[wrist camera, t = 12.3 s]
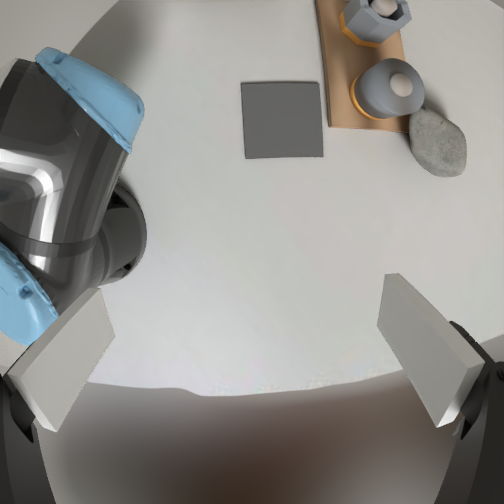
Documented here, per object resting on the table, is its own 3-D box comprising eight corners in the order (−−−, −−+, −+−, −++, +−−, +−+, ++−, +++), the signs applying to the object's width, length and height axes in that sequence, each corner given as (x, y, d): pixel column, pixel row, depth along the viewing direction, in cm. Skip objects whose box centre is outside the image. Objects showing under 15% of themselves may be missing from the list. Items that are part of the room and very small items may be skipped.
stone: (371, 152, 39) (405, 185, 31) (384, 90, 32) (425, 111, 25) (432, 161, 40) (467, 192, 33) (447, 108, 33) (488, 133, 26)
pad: (245, 159, 36) (245, 159, 35) (241, 85, 32) (241, 84, 32) (322, 156, 35) (323, 156, 35) (318, 84, 32) (319, 83, 32)
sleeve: (343, 43, 29) (363, 20, 21) (337, 5, 26) (354, -22, 19) (387, 50, 28) (414, 32, 21) (380, 13, 26) (403, -9, 19)
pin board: (328, 127, 34) (354, 119, 25) (315, 1, 27) (331, -34, 18) (407, 133, 34) (447, 131, 24) (390, 14, 27) (421, -12, 18)
